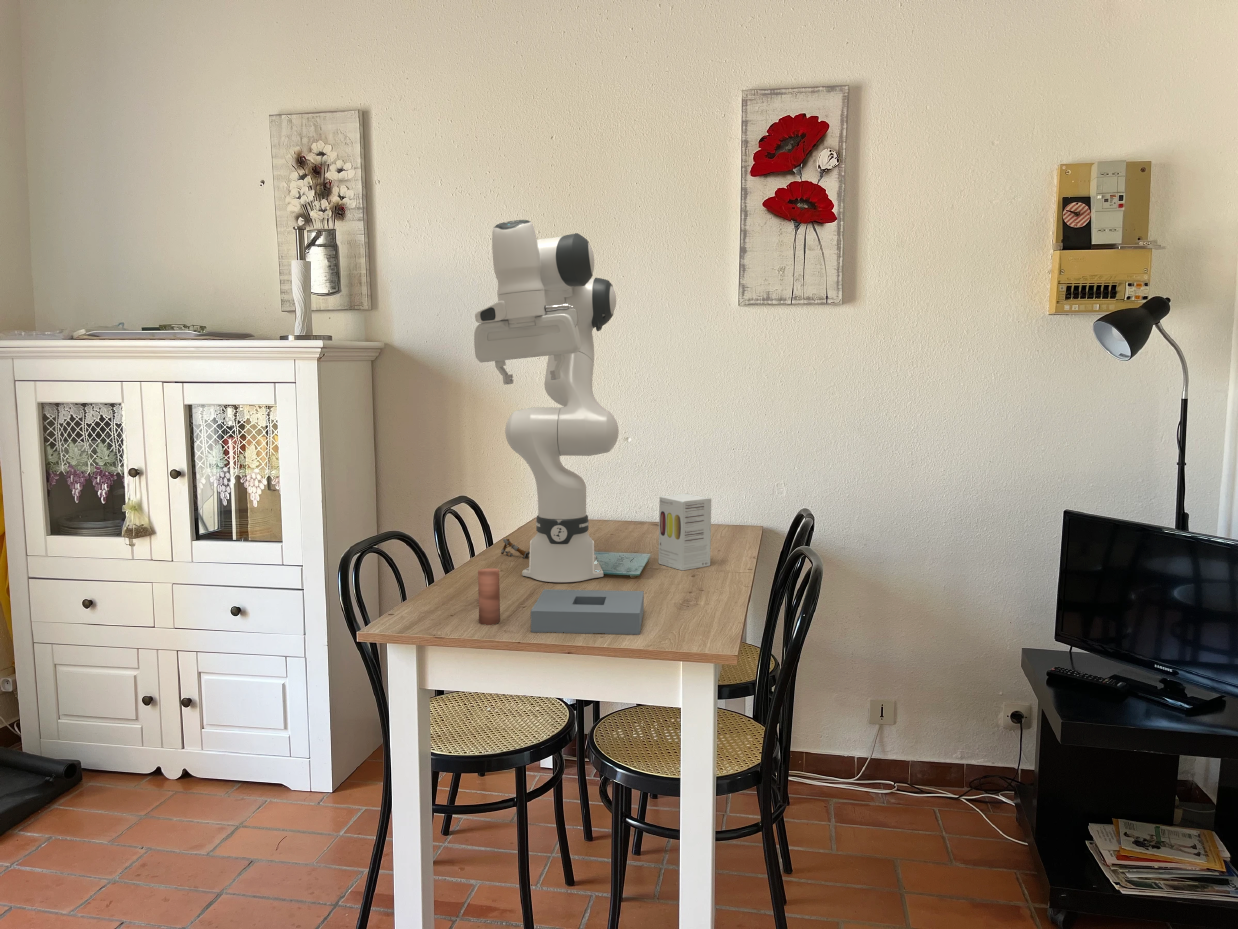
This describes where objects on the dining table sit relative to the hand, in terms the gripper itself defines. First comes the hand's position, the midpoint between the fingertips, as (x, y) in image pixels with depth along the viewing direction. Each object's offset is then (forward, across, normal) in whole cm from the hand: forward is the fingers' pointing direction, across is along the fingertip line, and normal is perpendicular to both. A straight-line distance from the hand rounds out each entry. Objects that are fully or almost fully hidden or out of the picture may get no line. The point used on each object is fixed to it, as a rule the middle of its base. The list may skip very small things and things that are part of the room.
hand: (532, 381), depth 175 cm
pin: (+44, +12, +9) cm, 46 cm away
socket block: (+46, -7, +5) cm, 47 cm away
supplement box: (+51, -18, -47) cm, 72 cm away
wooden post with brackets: (+47, +26, -47) cm, 72 cm away
